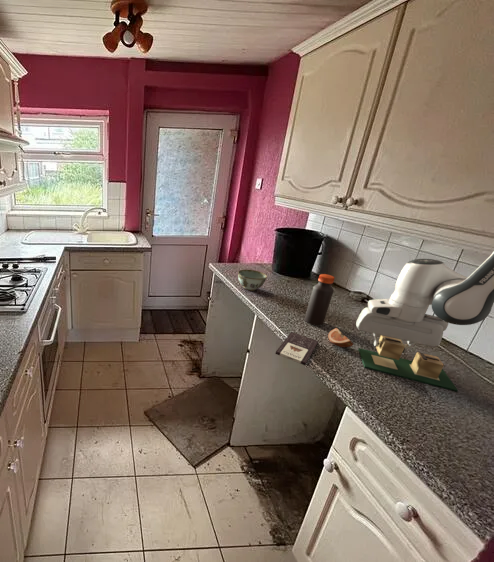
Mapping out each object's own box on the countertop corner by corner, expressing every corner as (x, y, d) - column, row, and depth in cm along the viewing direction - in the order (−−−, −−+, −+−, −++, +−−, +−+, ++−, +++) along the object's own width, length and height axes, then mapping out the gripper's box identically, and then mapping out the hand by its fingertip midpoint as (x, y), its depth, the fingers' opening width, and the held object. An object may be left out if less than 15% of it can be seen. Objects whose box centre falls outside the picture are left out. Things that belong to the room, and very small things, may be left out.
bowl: (259, 284, 164) (262, 270, 161) (267, 294, 152) (271, 279, 149) (232, 282, 165) (235, 268, 162) (239, 292, 153) (242, 277, 150)
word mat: (441, 369, 99) (442, 367, 99) (457, 392, 90) (458, 390, 89) (358, 349, 109) (358, 347, 109) (364, 367, 99) (365, 365, 99)
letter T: (431, 369, 98) (438, 355, 96) (437, 378, 94) (444, 364, 92) (410, 364, 100) (417, 351, 98) (415, 373, 96) (422, 359, 94)
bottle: (326, 323, 126) (340, 277, 119) (318, 327, 122) (333, 280, 115) (308, 316, 131) (321, 272, 124) (301, 320, 127) (313, 275, 120)
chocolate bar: (318, 341, 111) (305, 362, 98) (317, 343, 111) (305, 365, 99) (291, 331, 116) (276, 351, 104) (290, 334, 117) (275, 353, 104)
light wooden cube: (394, 352, 101) (400, 338, 99) (398, 360, 97) (405, 345, 95) (375, 347, 103) (381, 333, 101) (379, 355, 99) (385, 341, 97)
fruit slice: (355, 353, 106) (359, 340, 105) (335, 351, 107) (339, 339, 105) (341, 340, 114) (345, 328, 112) (322, 338, 115) (326, 326, 113)
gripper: (446, 314, 92) (427, 353, 98) (363, 299, 101) (349, 335, 106) (455, 323, 87) (435, 364, 92) (366, 306, 96) (352, 344, 101)
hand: (388, 348), depth 99 cm, fingers closed on light wooden cube, 5 cm apart
